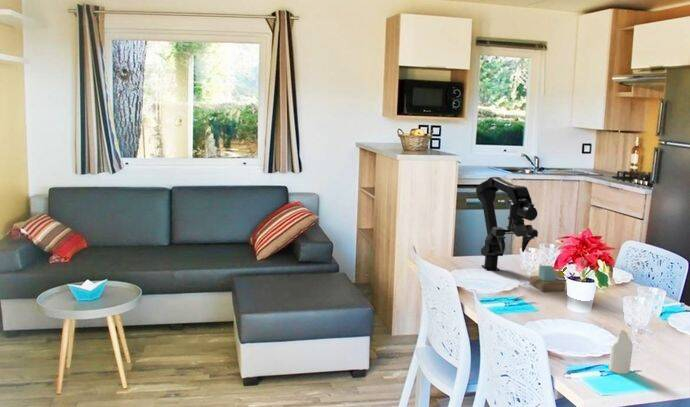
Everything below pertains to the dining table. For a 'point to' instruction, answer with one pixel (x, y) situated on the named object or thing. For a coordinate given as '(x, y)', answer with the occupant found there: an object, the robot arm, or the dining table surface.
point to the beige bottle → (621, 354)
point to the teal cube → (547, 273)
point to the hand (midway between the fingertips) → (512, 251)
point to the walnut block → (547, 284)
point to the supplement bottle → (560, 274)
